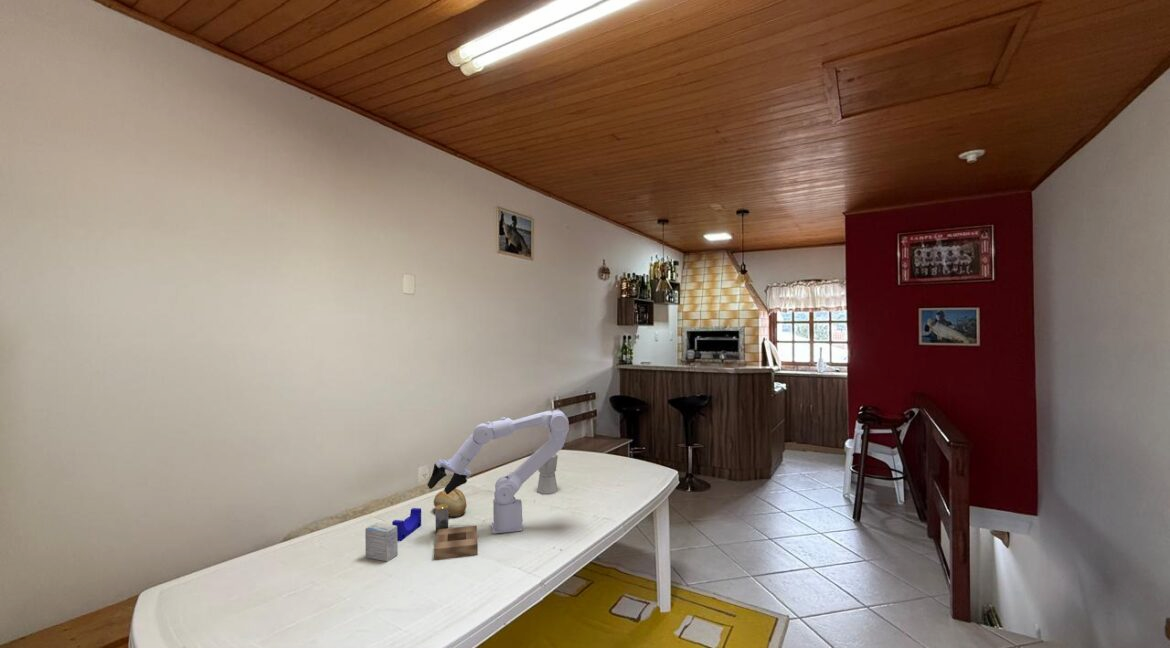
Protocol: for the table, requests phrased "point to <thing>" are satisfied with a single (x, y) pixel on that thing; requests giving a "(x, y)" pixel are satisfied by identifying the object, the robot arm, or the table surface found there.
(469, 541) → the dock plate
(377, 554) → the medicine box
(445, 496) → the bread roll
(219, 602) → the table surface
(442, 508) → the peg
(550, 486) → the coffee maker
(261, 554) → the table surface
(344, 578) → the table surface
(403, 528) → the blue cradle block
